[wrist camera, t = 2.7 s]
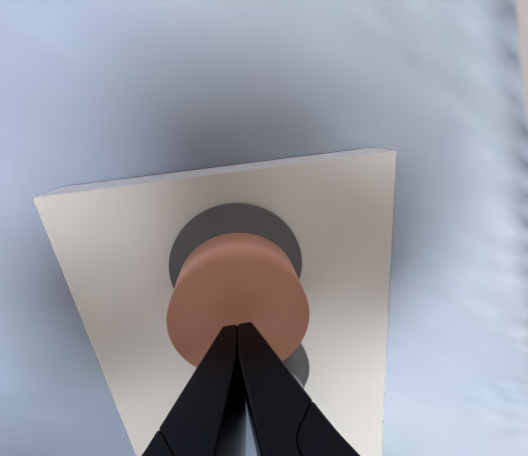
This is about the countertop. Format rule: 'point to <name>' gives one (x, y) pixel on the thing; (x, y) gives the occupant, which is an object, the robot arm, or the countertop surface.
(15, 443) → the countertop surface
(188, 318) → the terracotta button
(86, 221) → the button board
